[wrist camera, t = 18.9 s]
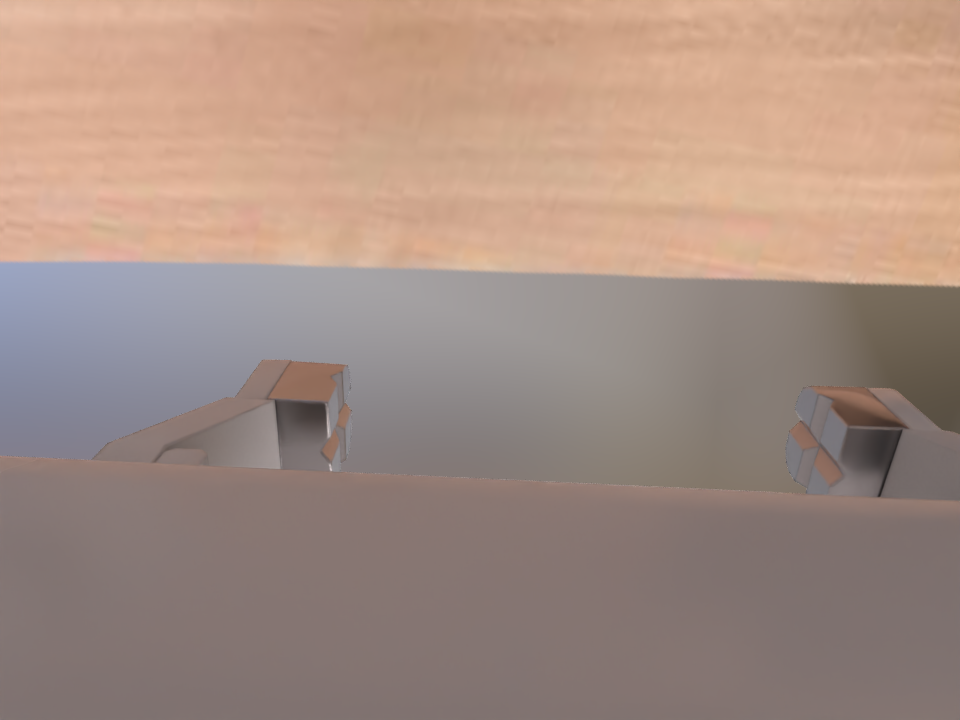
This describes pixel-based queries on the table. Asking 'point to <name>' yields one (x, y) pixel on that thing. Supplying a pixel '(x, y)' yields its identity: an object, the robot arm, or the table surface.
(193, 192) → the table surface
